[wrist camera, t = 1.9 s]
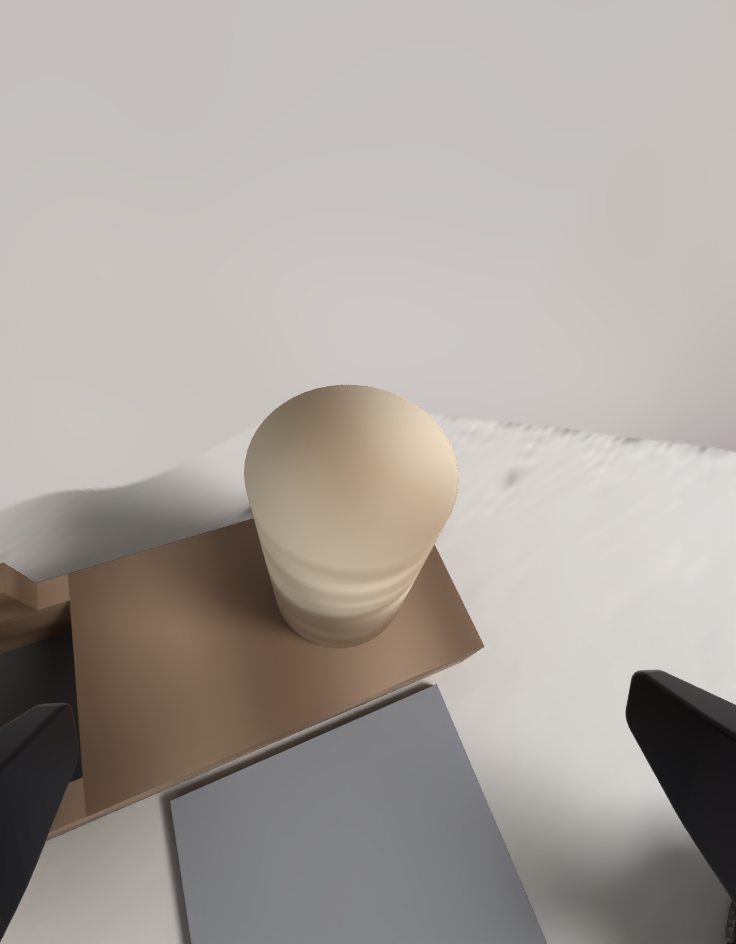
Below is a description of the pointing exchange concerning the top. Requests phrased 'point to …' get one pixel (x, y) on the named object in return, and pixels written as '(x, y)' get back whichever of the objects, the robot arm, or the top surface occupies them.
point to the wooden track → (196, 662)
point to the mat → (353, 842)
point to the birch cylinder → (347, 507)
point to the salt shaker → (731, 925)
